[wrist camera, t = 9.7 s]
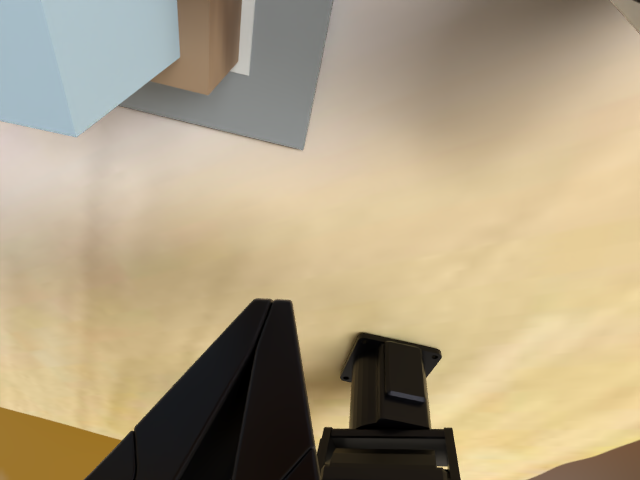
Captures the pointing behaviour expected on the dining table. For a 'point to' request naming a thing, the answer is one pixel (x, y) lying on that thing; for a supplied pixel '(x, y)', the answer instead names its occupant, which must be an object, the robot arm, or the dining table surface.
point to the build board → (257, 76)
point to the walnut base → (204, 44)
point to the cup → (629, 11)
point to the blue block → (80, 58)
